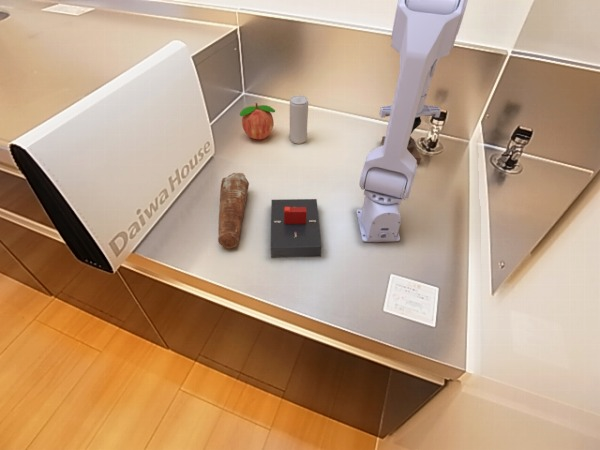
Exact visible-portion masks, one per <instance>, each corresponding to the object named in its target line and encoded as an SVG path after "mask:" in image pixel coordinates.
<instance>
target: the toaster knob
mask: <svg viewBox="0 0 600 450" xmlns="http://www.w3.org/2000/svg"><path fill="white" fill-rule="evenodd" d="M284 224H306V207H284Z"/></svg>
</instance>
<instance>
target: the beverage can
mask: <svg viewBox="0 0 600 450" xmlns="http://www.w3.org/2000/svg"><path fill="white" fill-rule="evenodd" d="M308 118H309V99H308V97H307V96H304V95H299V94H298V95H292V96H291V97H290V99H289V140H290V141H291V142H292V143H294V144H304V143H305V142H307V139H308Z"/></svg>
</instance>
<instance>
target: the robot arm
mask: <svg viewBox="0 0 600 450" xmlns="http://www.w3.org/2000/svg"><path fill="white" fill-rule="evenodd" d="M468 3H469V0H397V5H396V8H395V14H394V20H393V27H392V31H391V36H390V38H391V39H390V40H391V43H390V47H392V49H394V50H395V51H396V52H397V53H398V54H399V73H398V77H397V82H396V87H395V91H394V95H393V100H392V105H384V106H380V108H379V116H380V118H383V119H384V118H386V117H389V119H388V123H387V128H386V132H385V135H384V136H385V141H384V145H382V144H381V145H380V146H377V147H375V148H373V149H371V150H370V151H369V152H368V153H367V155H366V157H365V160H364V164H363V167H362V170H361V173H360V179H359V188H360V190H364V192H363V196H364V199H363V203H362V204H363V205H362V208H361V209H360V208H357V209H356V211H355V213H356V218H357V222H358V227H359V232H360V236H361V241H362V242H364V243H374V242H375V243H378V242H379V243H380V242H383V243H384V242H386V243H387V242H400V241H401V237H400V234H399V230H400V227H401V225H402V216H401V212H400V205H401V202H402V200H403V201H406V200H408V199H409V198H410V195H411V192H412V188H413V185H414V182H415V178H416V174H417V168H418V165H417V160H416V159H415V158H414V157H413V155H412V154H411V153H410V152H409V151H408V150H407V146H408V142H409V139H410V136H412V133H413V132H414V131H415V130H416V129H417V128H418V127H419V126H421V123H422V118H421V117H434V118H440V116H441V112H442V110H441V107H440V106H438V105H437V106H436V105H429V104H425V103H426V100H427V97H428V94H429V89H430V87H431V83H432V79H433V76H434V74H435V72H436V71H435V70H436V68H437V67H438V64H439V61H440V59H441V58H445V57H447V56H449V55H450V52H451V50H452V49H454V46H455V42H456V39H457V36H458V34H459V31H460V29H461V25H462V22H463V19H464V15H465V12H466V8H467V4H468Z"/></svg>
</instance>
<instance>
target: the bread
mask: <svg viewBox="0 0 600 450" xmlns="http://www.w3.org/2000/svg"><path fill="white" fill-rule="evenodd" d="M249 186H250V183H249V181H248V179H247V178H246V174H244V173H243V172H233V173H231V174H228V176H227V177H223V178H222V179H221V183H220V188H219V189H220V193H219V208H218V209H219V210H218V236H217V237H218V238H217V242H218V244H219V245H220V246H221V247H223V248H225V249H233V248H235V247H237V245H239V241H240V233H241V229H242V223H243V218H244V214H245V208H246V207H245V205H246V201H247V197H248V192H249Z"/></svg>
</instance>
